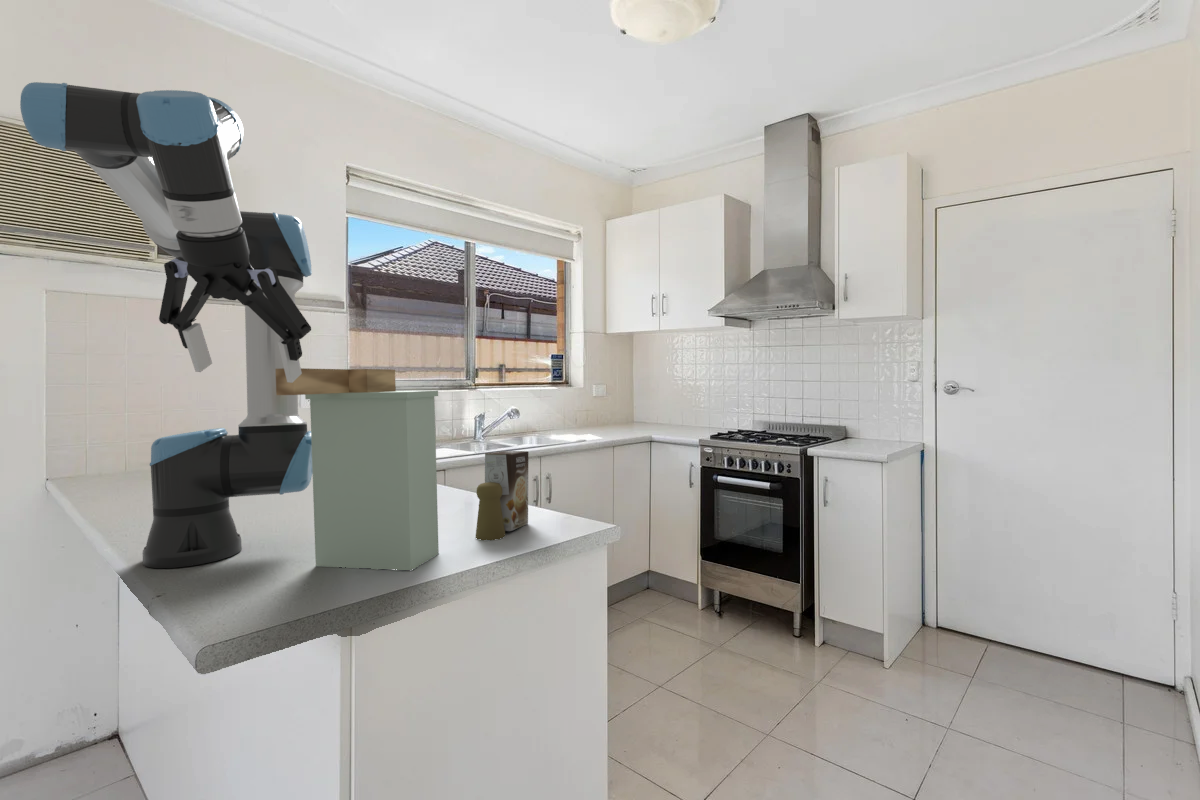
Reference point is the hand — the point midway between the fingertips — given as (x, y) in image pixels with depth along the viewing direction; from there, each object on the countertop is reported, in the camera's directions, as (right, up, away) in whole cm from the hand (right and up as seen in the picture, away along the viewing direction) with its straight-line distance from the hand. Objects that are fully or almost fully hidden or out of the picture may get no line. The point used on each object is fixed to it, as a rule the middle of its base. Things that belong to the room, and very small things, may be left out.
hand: (249, 372), depth 87 cm
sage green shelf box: (+12, -33, +19) cm, 40 cm away
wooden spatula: (+6, -3, +14) cm, 16 cm away
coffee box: (+31, -31, +40) cm, 60 cm away
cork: (+29, -32, +34) cm, 55 cm away
